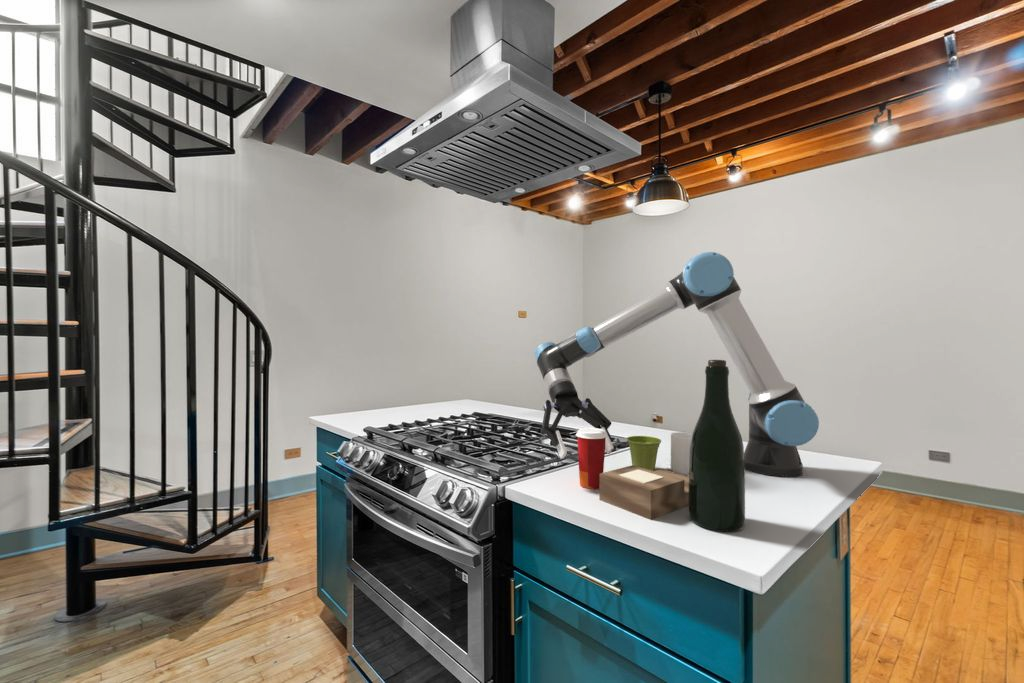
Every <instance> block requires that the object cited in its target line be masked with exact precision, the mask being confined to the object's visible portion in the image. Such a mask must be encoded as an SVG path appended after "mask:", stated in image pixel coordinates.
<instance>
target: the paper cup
mask: <svg viewBox="0 0 1024 683" xmlns="http://www.w3.org/2000/svg"><path fill="white" fill-rule="evenodd" d="M575 436H576V437H577V456H578V475H579V486H580V487H581V488H583V489H587V490H600V473H604V468H605V457H606V456H605V454H606V450H605V440H606V437H607V435H606V434H605V430H603V429H598V428H595V427H581V428H579V429H578V430H577V431H576V434H575Z"/></svg>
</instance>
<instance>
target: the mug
mask: <svg viewBox="0 0 1024 683" xmlns="http://www.w3.org/2000/svg"><path fill="white" fill-rule="evenodd" d="M692 433H693V432H686V431H684V432H683V431H679V432H676V431H675V432H671V434H670V469H671V472H675V473H678V474H682V475H687V476H689V457H690V443H691V438H692Z"/></svg>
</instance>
